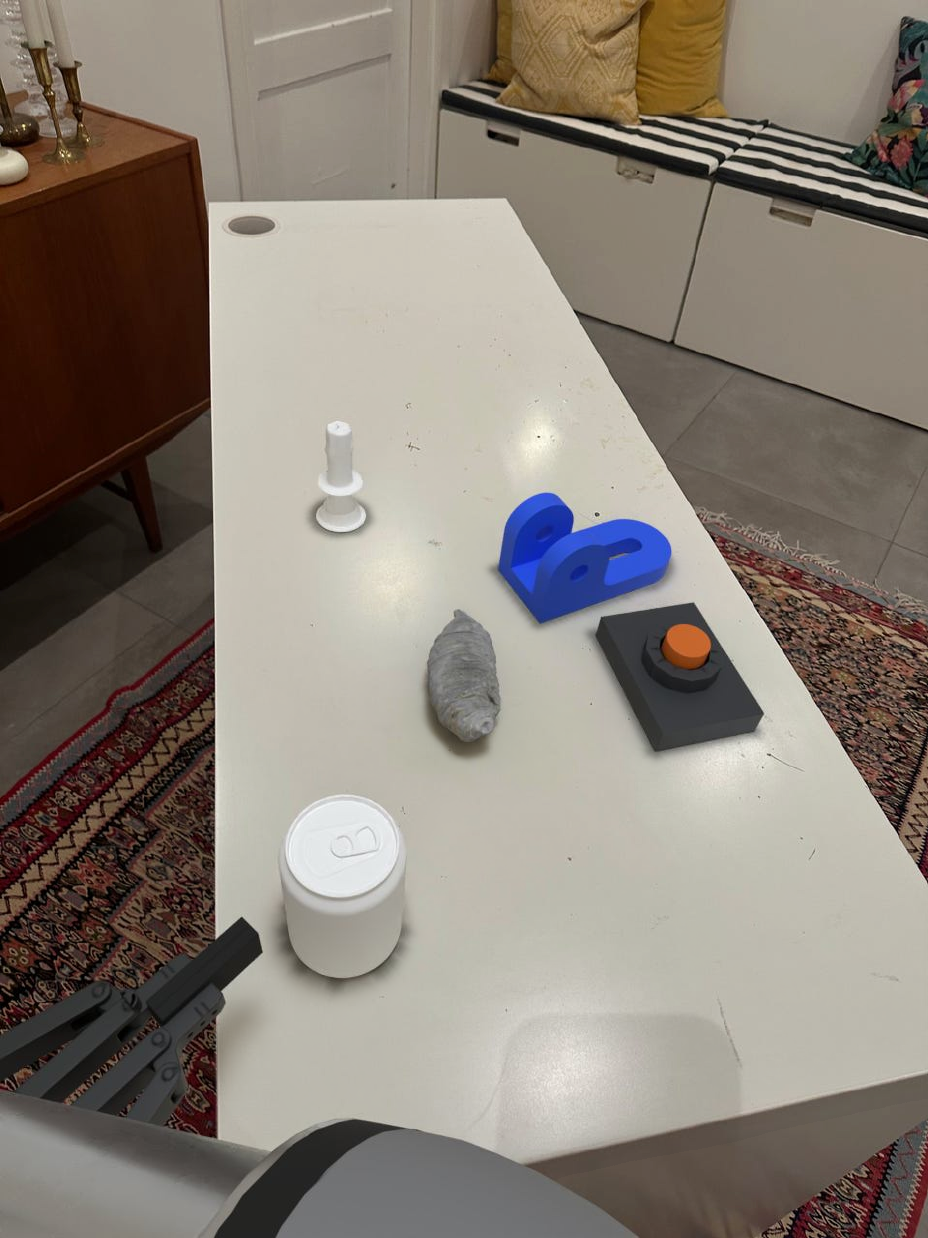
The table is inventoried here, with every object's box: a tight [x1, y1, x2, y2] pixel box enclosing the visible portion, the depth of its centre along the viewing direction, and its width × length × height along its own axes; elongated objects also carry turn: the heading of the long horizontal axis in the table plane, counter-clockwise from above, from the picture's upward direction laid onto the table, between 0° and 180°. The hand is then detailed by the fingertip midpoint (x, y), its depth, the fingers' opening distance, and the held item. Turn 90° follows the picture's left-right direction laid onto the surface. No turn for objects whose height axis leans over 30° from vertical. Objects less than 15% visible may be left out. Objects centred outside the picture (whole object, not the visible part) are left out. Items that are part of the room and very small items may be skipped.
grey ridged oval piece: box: [426, 608, 502, 743], centre depth 76 cm, size 6×14×8 cm, turn 4°
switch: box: [662, 624, 711, 670], centre depth 78 cm, size 4×4×2 cm
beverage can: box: [278, 793, 408, 979], centre depth 59 cm, size 8×8×12 cm
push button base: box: [595, 601, 765, 752], centre depth 80 cm, size 14×10×4 cm
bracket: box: [497, 492, 672, 624], centre depth 88 cm, size 18×8×9 cm, turn 119°
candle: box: [315, 420, 367, 533], centre depth 90 cm, size 5×5×12 cm
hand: (252, 935), depth 51 cm, fingers closed
